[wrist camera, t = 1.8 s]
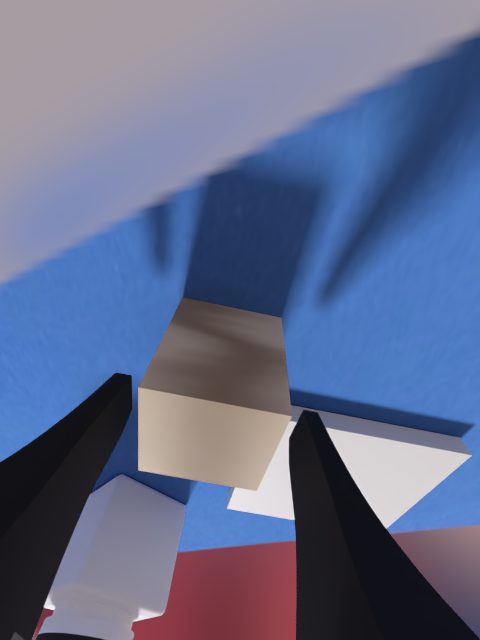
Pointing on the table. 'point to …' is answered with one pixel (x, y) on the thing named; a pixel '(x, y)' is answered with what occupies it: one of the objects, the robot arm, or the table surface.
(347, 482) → the robot arm
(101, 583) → the medicine bottle
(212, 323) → the maple block
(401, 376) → the table surface
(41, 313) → the table surface
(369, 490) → the white board
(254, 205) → the table surface
